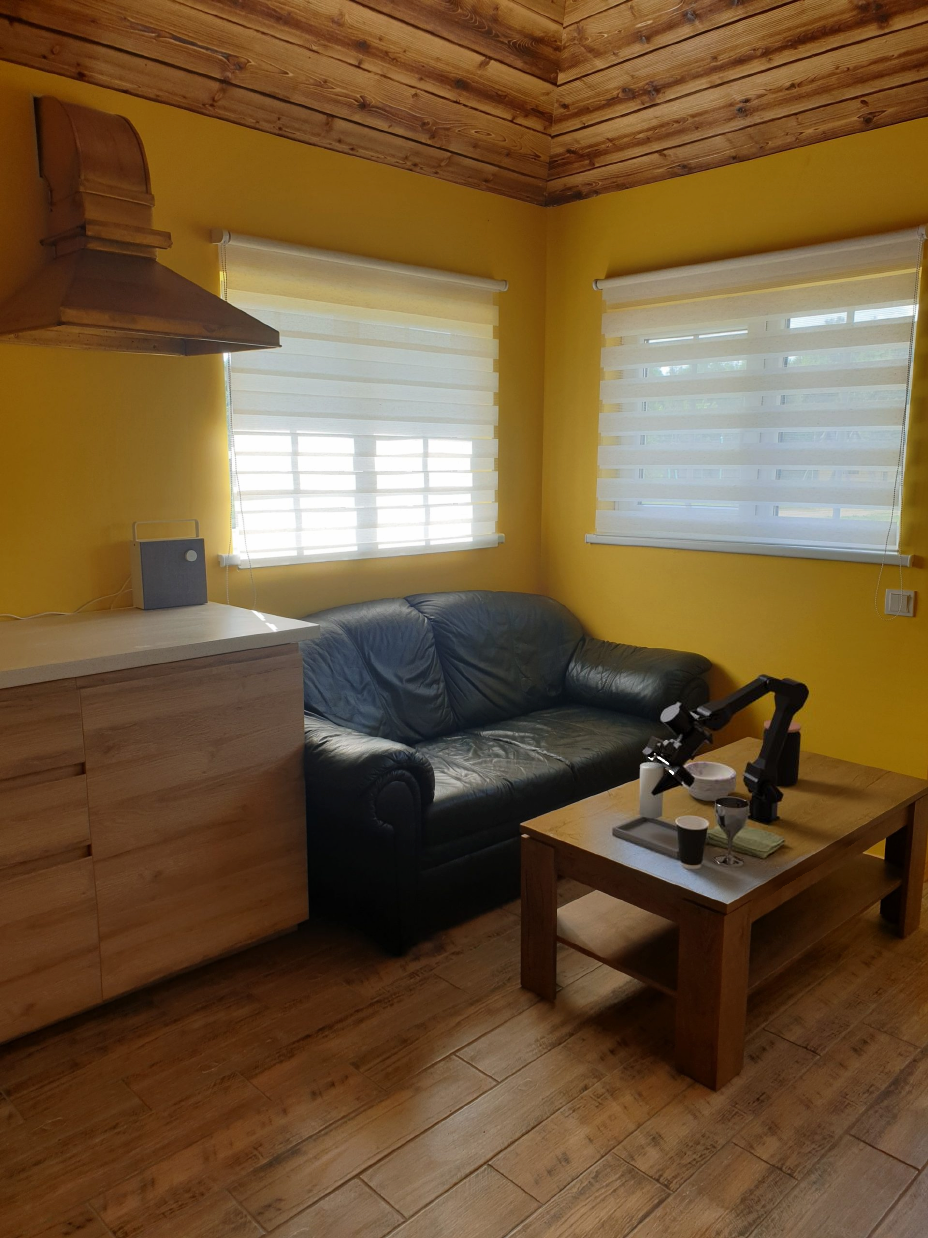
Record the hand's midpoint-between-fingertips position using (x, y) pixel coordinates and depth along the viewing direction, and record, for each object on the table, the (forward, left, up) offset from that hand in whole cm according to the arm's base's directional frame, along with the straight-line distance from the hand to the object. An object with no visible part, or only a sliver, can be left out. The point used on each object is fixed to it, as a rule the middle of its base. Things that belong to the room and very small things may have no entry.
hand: (646, 790), depth 239 cm
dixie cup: (-19, +7, -12) cm, 23 cm away
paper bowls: (+4, -36, -12) cm, 38 cm away
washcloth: (-20, -14, -13) cm, 28 cm away
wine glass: (-24, -2, -12) cm, 27 cm away
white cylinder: (-1, -1, -7) cm, 7 cm away
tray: (-5, 0, -12) cm, 13 cm away
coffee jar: (-4, -62, -12) cm, 63 cm away
